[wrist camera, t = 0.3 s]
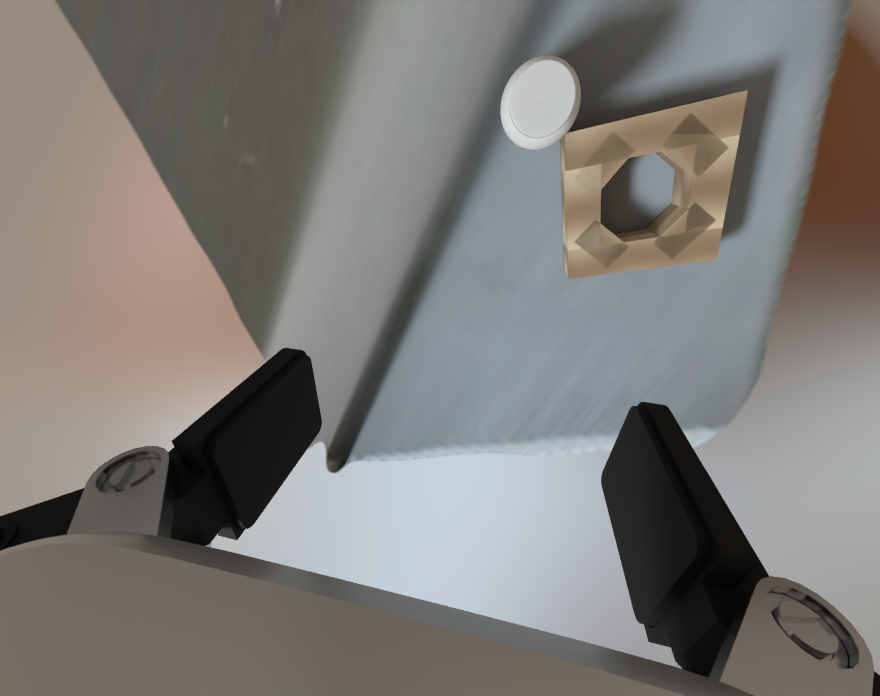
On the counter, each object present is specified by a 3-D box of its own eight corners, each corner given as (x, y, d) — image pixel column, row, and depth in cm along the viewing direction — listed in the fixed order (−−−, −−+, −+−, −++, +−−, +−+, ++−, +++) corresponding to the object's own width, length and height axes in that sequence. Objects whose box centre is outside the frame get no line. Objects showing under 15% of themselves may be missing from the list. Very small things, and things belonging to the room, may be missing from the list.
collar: (560, 134, 30) (565, 133, 27) (722, 96, 26) (748, 90, 23) (564, 267, 35) (568, 278, 32) (698, 249, 32) (716, 259, 29)
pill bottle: (492, 131, 30) (483, 126, 22) (524, 61, 28) (528, 24, 19) (544, 161, 31) (554, 166, 23) (581, 94, 28) (608, 71, 20)
